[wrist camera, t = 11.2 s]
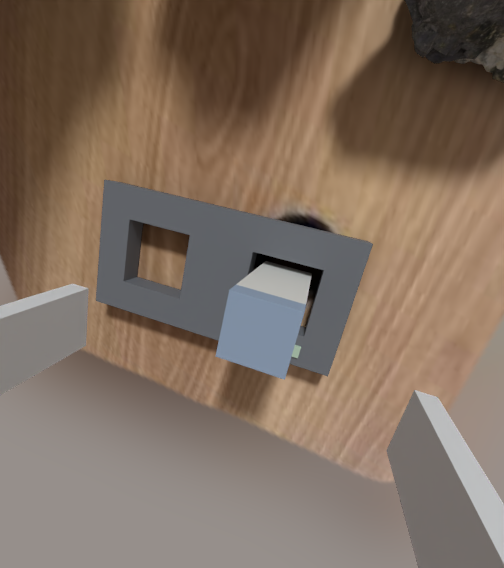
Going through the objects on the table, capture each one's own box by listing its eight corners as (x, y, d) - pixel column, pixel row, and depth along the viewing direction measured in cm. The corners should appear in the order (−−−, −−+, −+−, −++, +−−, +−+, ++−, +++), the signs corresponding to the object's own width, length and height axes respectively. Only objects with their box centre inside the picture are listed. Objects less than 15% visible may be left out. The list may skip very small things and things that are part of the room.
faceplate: (110, 295, 29) (94, 301, 27) (120, 182, 26) (102, 179, 24) (327, 364, 25) (327, 377, 23) (368, 241, 22) (373, 244, 20)
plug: (255, 304, 26) (215, 356, 16) (265, 260, 24) (229, 289, 15) (299, 317, 25) (284, 379, 15) (312, 273, 24) (304, 311, 14)
